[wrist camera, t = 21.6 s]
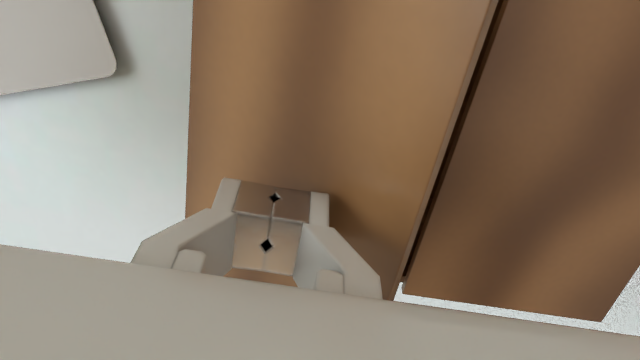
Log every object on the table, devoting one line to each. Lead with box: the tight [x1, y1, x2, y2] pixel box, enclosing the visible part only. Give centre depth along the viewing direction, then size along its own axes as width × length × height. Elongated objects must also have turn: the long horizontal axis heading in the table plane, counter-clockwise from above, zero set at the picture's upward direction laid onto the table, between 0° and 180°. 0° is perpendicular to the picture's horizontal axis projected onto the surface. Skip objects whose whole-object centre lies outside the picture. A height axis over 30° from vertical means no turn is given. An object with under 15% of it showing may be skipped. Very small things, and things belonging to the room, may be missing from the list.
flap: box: [185, 0, 498, 301], centre depth 15 cm, size 9×14×1 cm
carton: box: [400, 0, 640, 322], centre depth 22 cm, size 19×14×8 cm
